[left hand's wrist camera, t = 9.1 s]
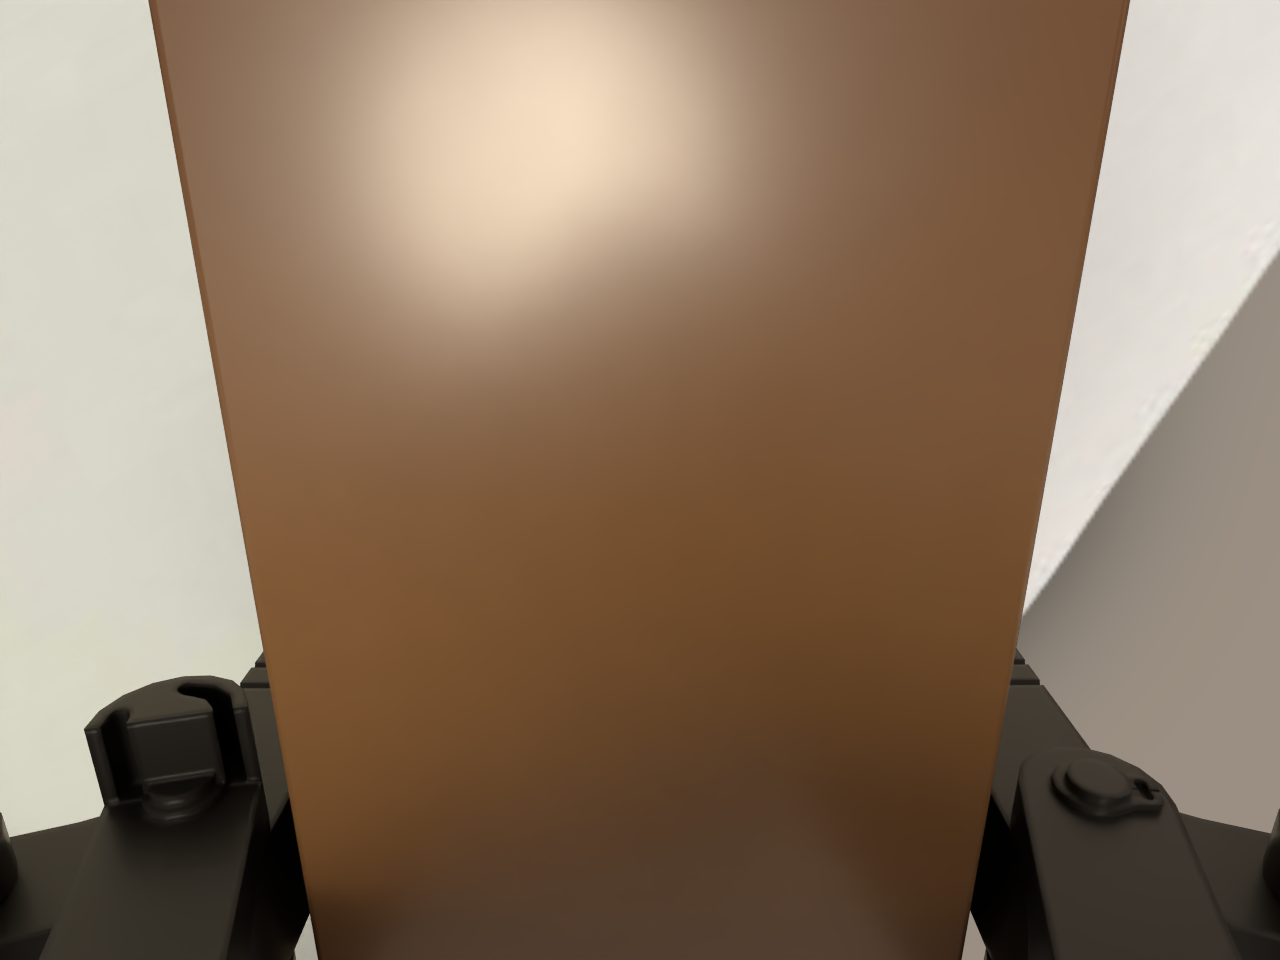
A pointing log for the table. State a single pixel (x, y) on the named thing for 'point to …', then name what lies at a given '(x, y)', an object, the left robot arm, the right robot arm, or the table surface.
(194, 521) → the table surface
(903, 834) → the beam
